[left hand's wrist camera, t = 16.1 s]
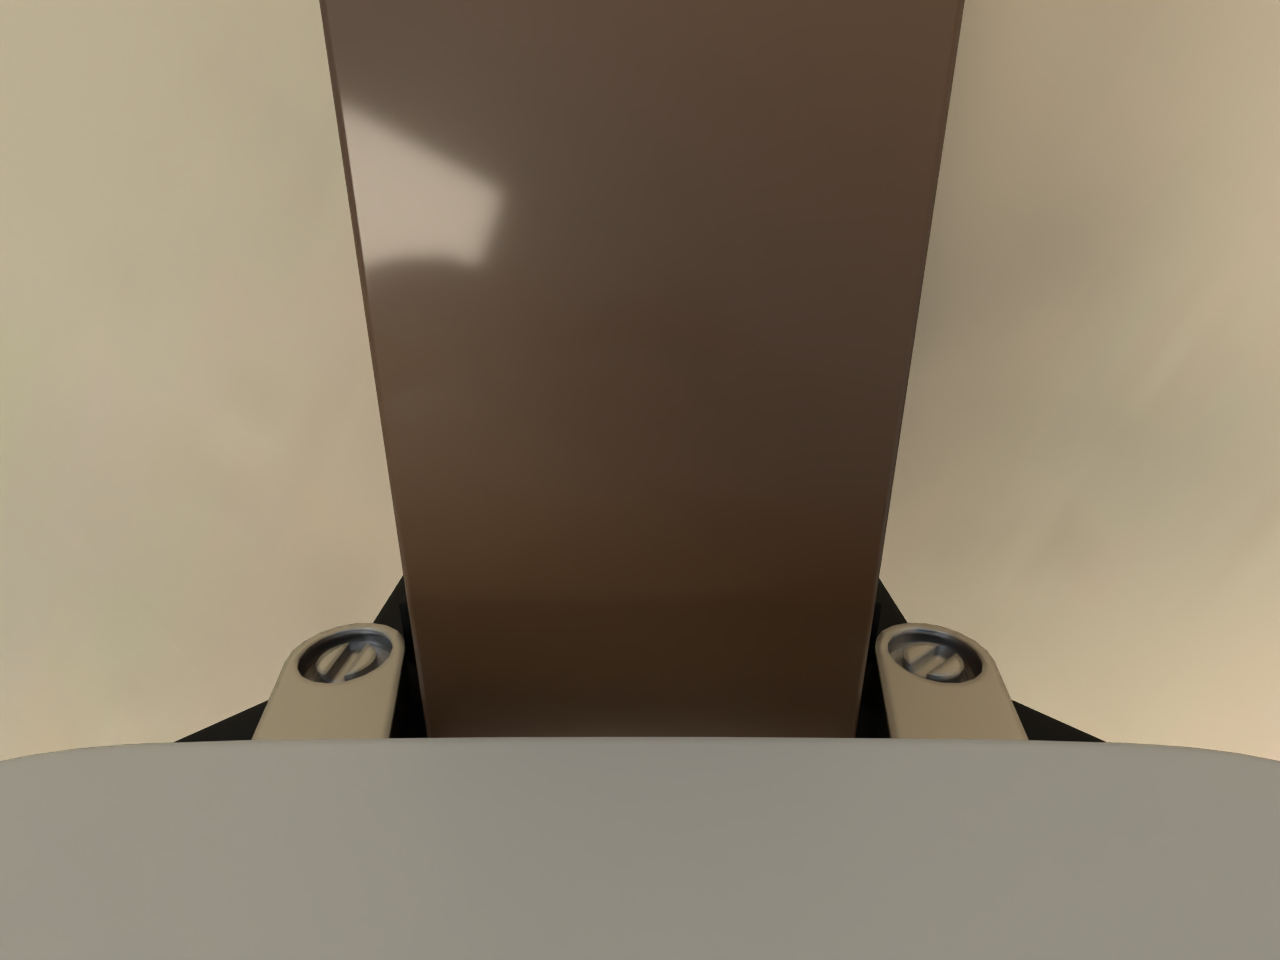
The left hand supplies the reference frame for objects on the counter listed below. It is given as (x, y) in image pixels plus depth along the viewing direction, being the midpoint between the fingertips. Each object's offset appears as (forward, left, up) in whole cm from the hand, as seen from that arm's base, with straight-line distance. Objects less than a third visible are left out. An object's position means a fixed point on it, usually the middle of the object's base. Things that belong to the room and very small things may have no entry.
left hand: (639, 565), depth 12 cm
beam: (+22, -16, -2) cm, 28 cm away
